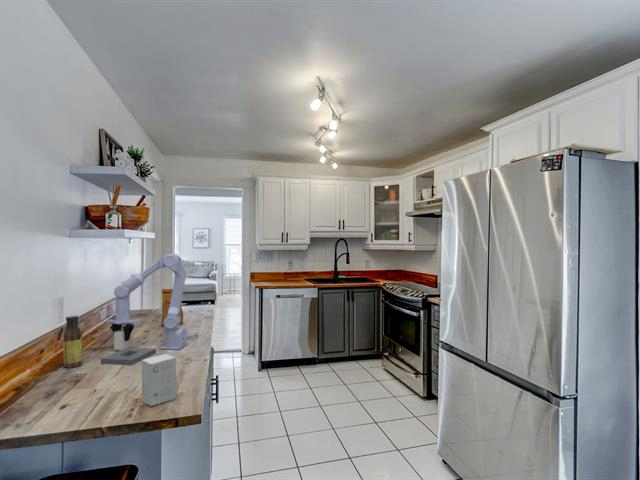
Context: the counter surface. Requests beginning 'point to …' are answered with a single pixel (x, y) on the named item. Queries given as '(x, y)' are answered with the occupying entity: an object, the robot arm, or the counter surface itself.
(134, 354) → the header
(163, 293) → the coffee package
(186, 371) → the counter surface
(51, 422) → the counter surface
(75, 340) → the sauce bottle
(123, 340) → the plug
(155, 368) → the small box
